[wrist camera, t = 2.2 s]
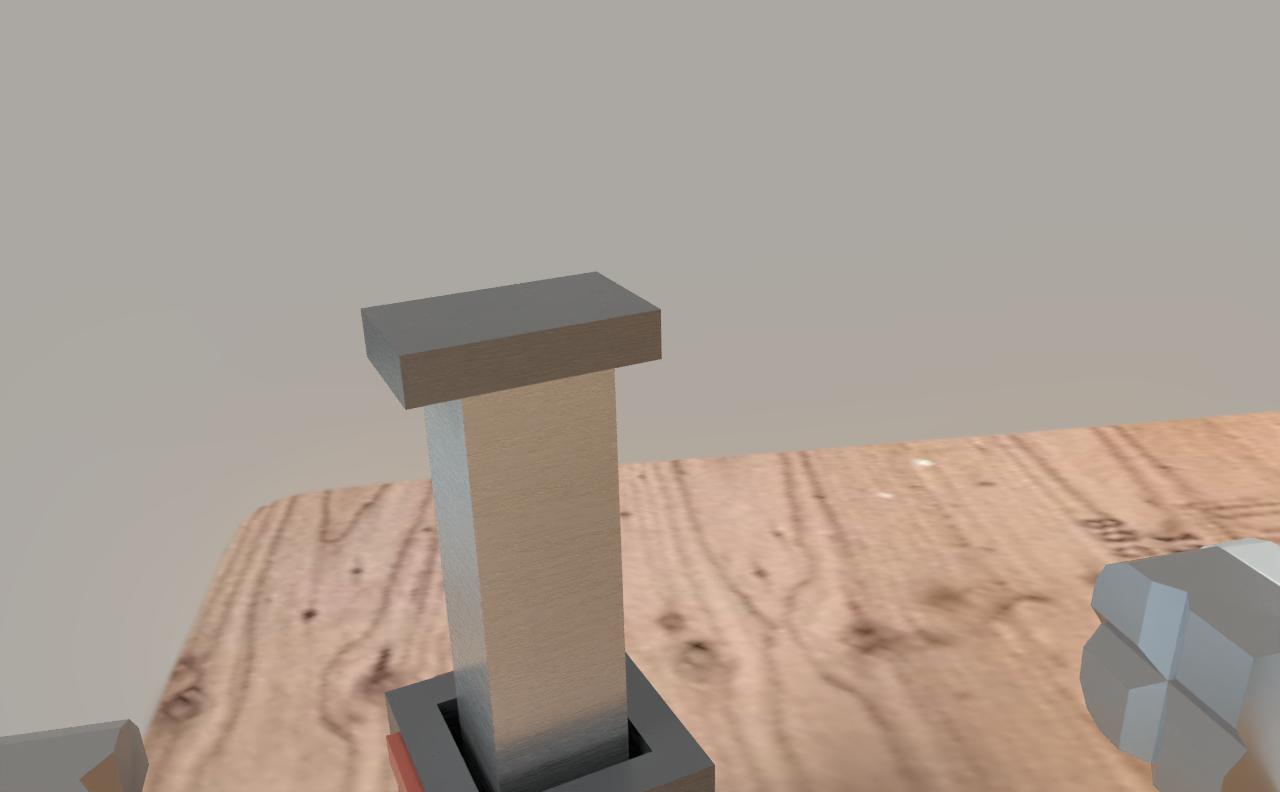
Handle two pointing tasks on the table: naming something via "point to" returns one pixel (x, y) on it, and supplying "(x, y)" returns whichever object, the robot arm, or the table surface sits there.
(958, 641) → the table surface
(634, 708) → the stand
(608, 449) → the column
